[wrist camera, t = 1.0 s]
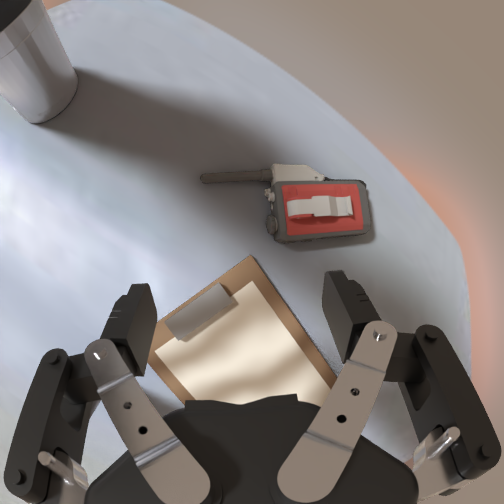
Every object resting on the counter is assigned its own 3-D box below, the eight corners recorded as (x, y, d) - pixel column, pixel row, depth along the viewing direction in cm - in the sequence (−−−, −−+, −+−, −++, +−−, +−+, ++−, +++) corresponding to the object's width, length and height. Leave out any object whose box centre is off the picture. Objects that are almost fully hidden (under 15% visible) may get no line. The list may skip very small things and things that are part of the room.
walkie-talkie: (356, 169, 36) (199, 173, 32) (374, 159, 32) (201, 159, 28) (366, 236, 36) (205, 251, 32) (386, 232, 32) (208, 249, 28)
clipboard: (131, 340, 29) (129, 343, 28) (249, 255, 32) (253, 254, 31) (248, 464, 31) (251, 471, 30) (346, 393, 34) (352, 397, 33)
